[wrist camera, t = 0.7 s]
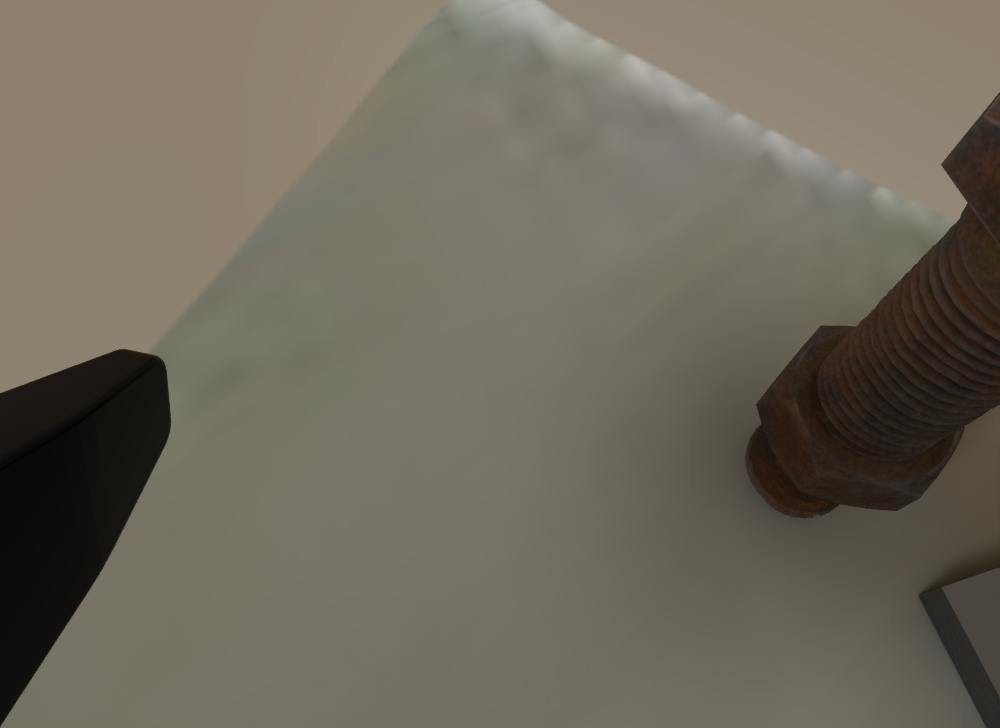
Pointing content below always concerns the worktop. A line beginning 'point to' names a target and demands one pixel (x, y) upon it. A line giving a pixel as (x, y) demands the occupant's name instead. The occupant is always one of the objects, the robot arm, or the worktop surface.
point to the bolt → (894, 368)
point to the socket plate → (972, 636)
